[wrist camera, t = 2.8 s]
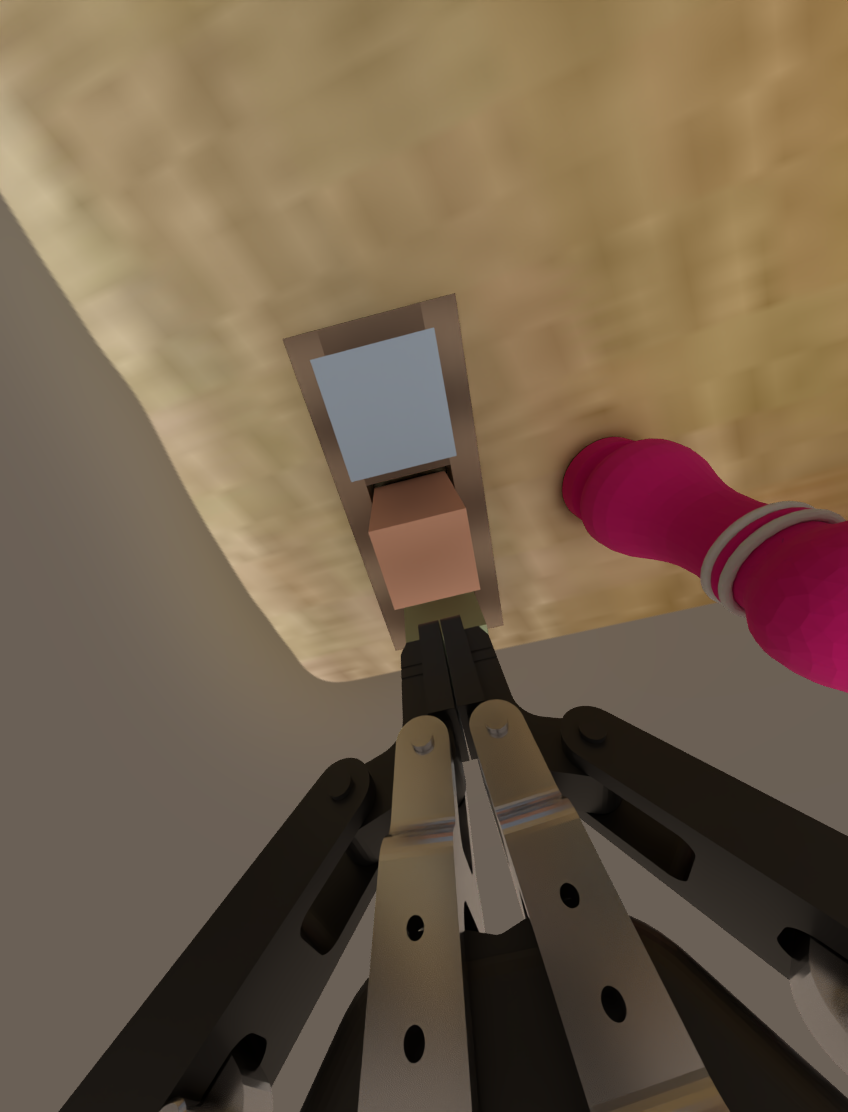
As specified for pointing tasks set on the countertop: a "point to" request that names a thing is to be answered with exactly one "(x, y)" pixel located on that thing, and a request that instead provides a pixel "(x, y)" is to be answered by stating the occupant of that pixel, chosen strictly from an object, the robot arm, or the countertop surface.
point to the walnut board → (459, 468)
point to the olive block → (444, 613)
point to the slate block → (387, 404)
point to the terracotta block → (422, 540)
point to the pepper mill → (724, 545)
